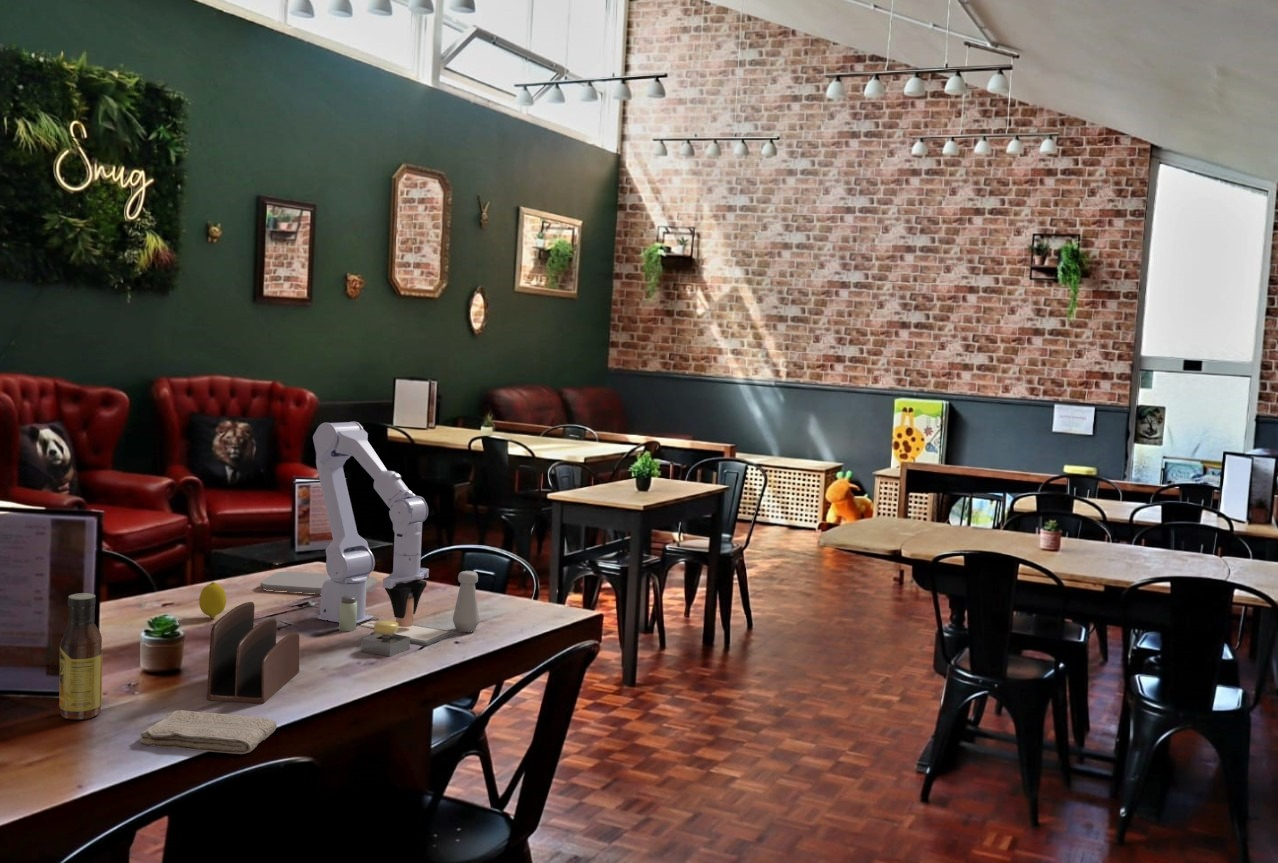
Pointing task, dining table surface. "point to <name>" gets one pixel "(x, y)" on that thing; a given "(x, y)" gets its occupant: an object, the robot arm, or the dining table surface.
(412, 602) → the pepper shaker
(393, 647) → the switch box
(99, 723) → the dining table surface
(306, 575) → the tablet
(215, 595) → the lemon
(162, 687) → the dining table surface
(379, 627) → the button
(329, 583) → the robot arm
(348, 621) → the green spice jar
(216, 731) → the washcloth
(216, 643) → the letter holder
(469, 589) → the salt shaker
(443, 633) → the clipboard
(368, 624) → the card
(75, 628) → the sauce bottle
